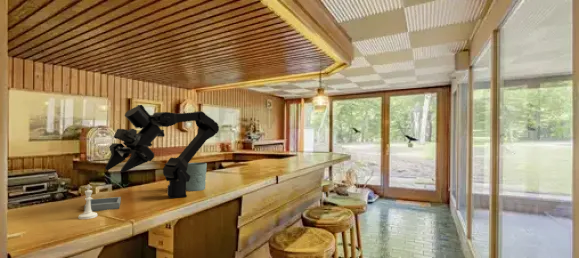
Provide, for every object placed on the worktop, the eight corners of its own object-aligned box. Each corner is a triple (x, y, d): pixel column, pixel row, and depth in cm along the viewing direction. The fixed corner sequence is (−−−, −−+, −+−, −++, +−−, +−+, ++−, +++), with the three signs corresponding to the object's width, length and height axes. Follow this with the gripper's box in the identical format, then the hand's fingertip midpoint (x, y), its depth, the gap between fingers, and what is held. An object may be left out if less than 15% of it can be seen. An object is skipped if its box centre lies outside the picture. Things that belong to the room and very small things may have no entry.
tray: (120, 202, 106) (120, 196, 106) (119, 208, 97) (119, 202, 97) (88, 204, 101) (89, 199, 101) (84, 212, 93) (84, 205, 93)
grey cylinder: (202, 191, 126) (202, 164, 126) (179, 191, 127) (180, 164, 127) (209, 187, 136) (209, 162, 137) (188, 186, 137) (188, 162, 137)
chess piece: (81, 215, 89) (81, 183, 89) (99, 214, 91) (100, 182, 91) (75, 220, 84) (76, 186, 85) (95, 218, 86) (95, 185, 86)
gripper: (115, 121, 104) (80, 153, 94) (147, 120, 95) (112, 156, 85) (135, 142, 111) (104, 173, 101) (166, 143, 101) (136, 178, 92)
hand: (113, 170), depth 94 cm, fingers open, 9 cm apart
